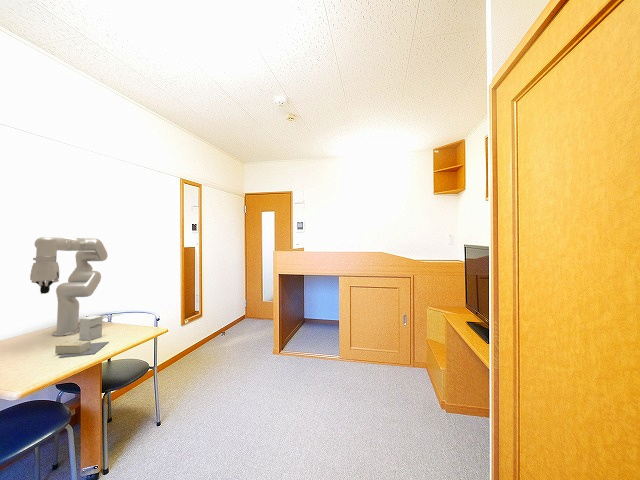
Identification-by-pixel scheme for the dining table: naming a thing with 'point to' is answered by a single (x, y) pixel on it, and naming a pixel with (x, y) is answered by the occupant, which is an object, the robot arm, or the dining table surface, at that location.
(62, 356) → the mat
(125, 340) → the dining table surface
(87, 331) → the supplement box
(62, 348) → the skincare box
